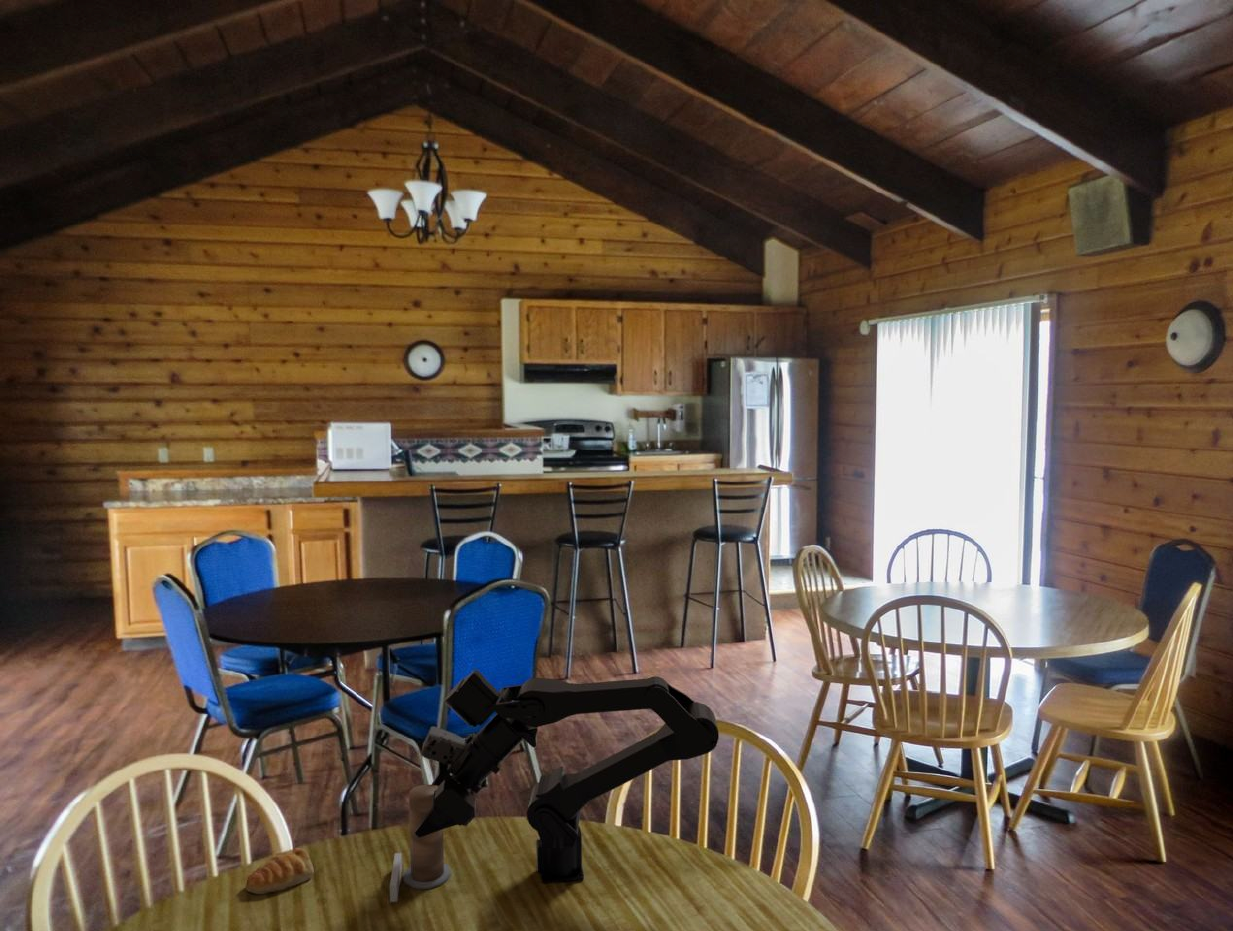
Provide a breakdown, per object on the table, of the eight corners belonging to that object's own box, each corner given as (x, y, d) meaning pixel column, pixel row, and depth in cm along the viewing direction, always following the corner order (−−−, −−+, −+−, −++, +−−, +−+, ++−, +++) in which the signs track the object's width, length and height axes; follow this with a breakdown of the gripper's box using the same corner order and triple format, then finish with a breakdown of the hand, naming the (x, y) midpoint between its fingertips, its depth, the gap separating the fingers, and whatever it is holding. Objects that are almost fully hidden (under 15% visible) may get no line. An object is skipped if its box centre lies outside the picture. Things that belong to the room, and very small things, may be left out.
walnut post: (444, 862, 139) (443, 783, 137) (443, 880, 134) (441, 798, 132) (411, 865, 138) (410, 785, 136) (409, 883, 133) (407, 800, 132)
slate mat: (450, 861, 140) (450, 858, 140) (449, 886, 133) (449, 883, 133) (405, 865, 139) (405, 862, 139) (402, 891, 132) (401, 887, 132)
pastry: (258, 904, 129) (257, 879, 129) (238, 886, 134) (237, 862, 133) (317, 878, 136) (316, 854, 135) (296, 862, 140) (295, 839, 140)
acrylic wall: (401, 867, 138) (401, 852, 138) (397, 901, 129) (396, 884, 129) (395, 868, 138) (394, 853, 138) (390, 901, 129) (389, 885, 129)
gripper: (455, 690, 143) (388, 760, 143) (449, 736, 125) (371, 816, 124) (505, 734, 145) (438, 803, 144) (506, 786, 126) (429, 865, 126)
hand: (419, 819), depth 135 cm, fingers open, 9 cm apart
